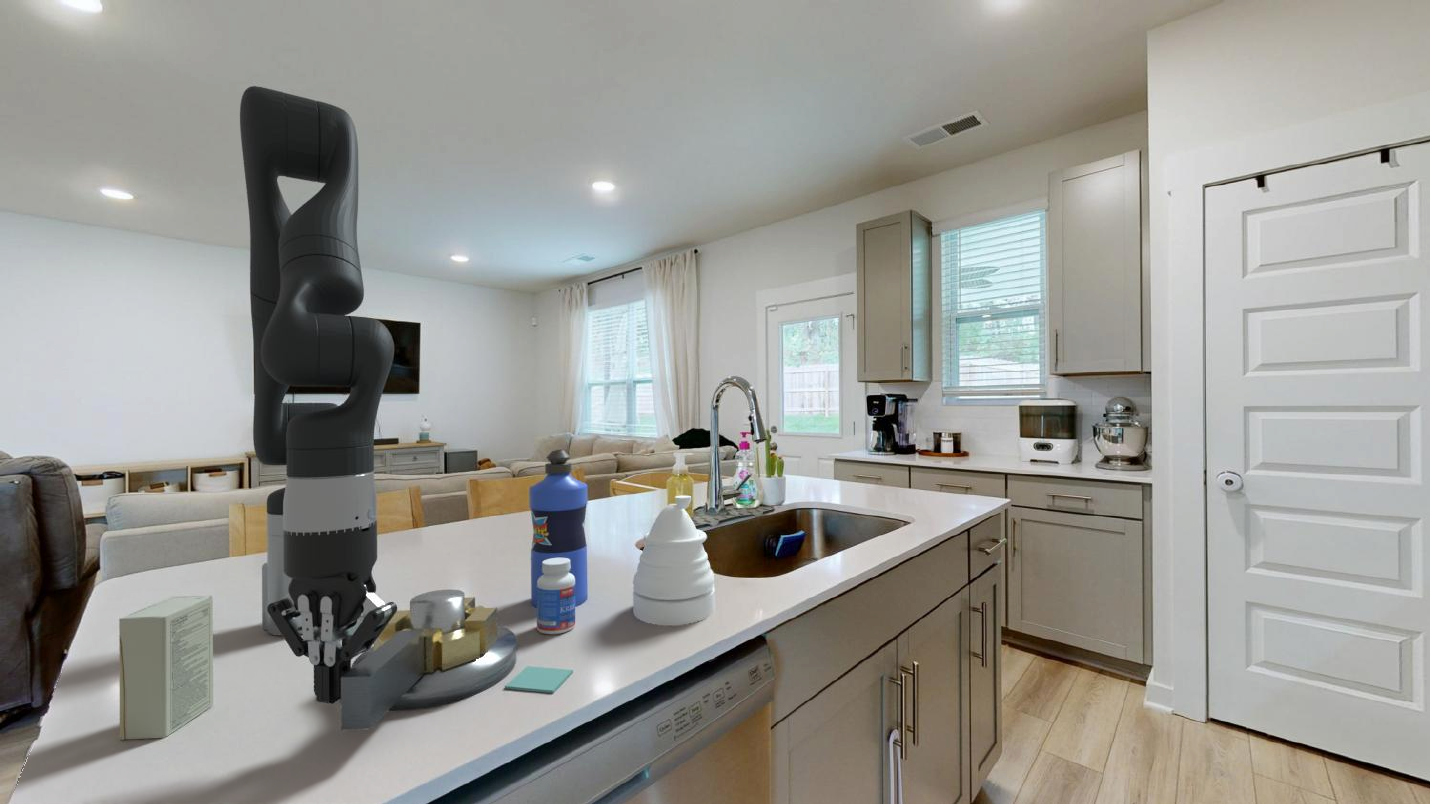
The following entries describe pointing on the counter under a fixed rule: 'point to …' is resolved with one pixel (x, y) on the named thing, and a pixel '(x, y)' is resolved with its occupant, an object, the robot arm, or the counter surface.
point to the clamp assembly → (410, 662)
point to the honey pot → (674, 571)
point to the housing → (460, 679)
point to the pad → (539, 679)
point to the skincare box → (165, 666)
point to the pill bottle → (556, 597)
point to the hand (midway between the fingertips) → (332, 699)
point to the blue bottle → (559, 523)
